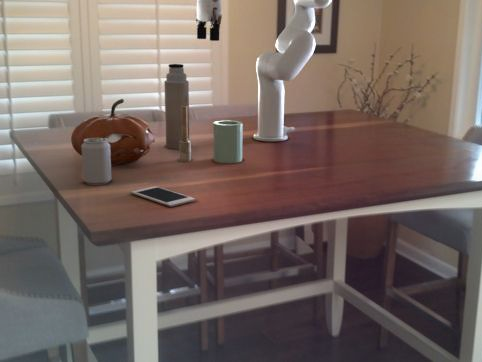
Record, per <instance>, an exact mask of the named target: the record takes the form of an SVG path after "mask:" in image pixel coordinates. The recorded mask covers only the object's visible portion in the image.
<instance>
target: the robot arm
mask: <svg viewBox="0 0 482 362" xmlns="http://www.w3.org/2000/svg"><path fill="white" fill-rule="evenodd" d="M332 1H333V0H293V3H294V13H293V16H292V18H291V19H290V21H289V22H288V24H287V25H286V26H285V27H284V29H283V30H282V31H281V33H280V34H279V35H278V37H277V39H276V41H275V48H276V50H277V51H265V52H263V53H261V54H259V56H258V57H257V59H256V64H255V70H256V76H257V87H258V88H257V90H258V91H257V99H258V100H257V132H256V133H254V134H253V136H252V137H253V139H254V140H256V141H260V142H284V141H286V140H288V133H295V131H296V128H295V127H294V126H290V127H288V126H286V125H284V123H285V122H284V121H285V120H284V119H285V85H284V82H289V81H292V80H294V79H295V78H296V77H297V76H298V75H299V73H300V72H301V71H302V69H303V68H304V67H305V65H306V64H307V63H308V61H309V60H310V59H311V58H312V56H313V54H314V51H315V49H316V38H315V36H314V34H312V32H313V30H314V28H315V25H316V12H315V9H324V8H327V7H328V6H330V5H331V3H332ZM222 9H223V8H222V0H196V11H195V21H196V39H197V40H207V27H206V26H207V23H209V24H210V28H209V41H211V42H218V41H220V29H221V23H222V18H223V17H222V16H223V15H222V14H223V11H222Z"/></svg>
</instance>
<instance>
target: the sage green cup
mask: <svg viewBox="0 0 482 362" xmlns="http://www.w3.org/2000/svg"><path fill="white" fill-rule="evenodd" d="M212 123H213V126H212V127H213V128H212V129H213V131H212V132H213V134H212V135H213V138H212V139H213V143H212V144H213V161H214V162H216V163H219V164H238V163H241V162H242V161H243V135H244V134H243V122H242V121H238V120H229V119H228V120H227V119H225V120H216V121H214V122H212Z"/></svg>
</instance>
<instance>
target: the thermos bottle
mask: <svg viewBox="0 0 482 362" xmlns="http://www.w3.org/2000/svg"><path fill="white" fill-rule="evenodd" d="M184 69H185V68H184V64H183V63H169V64H168V73H166V76H165V78H166V80H164V117H165V147H166V148H167V149H174V150H176V149H177V150H179V141H182V106H187V136H188V141H190V95H189V94H190V93H189V92H190V90H189V89H190V88H189V82H190V81H189V80H187V78H188V76H187V74H186V73H185V70H184Z"/></svg>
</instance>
